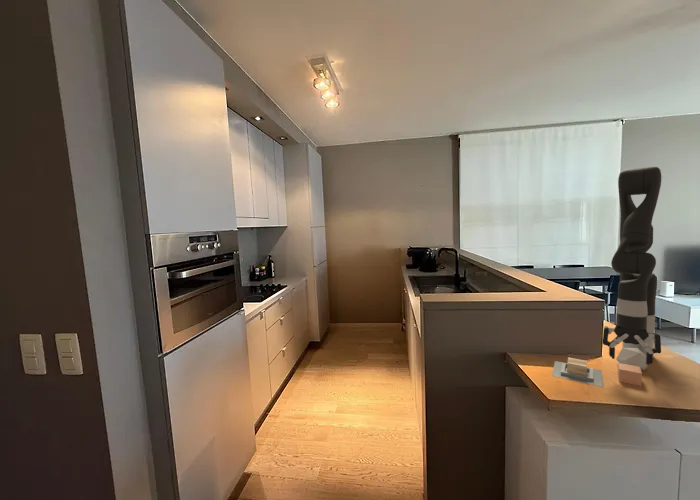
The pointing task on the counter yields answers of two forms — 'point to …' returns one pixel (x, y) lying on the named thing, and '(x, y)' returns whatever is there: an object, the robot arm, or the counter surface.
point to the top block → (629, 374)
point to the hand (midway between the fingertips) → (629, 360)
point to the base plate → (592, 374)
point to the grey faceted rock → (632, 357)
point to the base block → (577, 366)
